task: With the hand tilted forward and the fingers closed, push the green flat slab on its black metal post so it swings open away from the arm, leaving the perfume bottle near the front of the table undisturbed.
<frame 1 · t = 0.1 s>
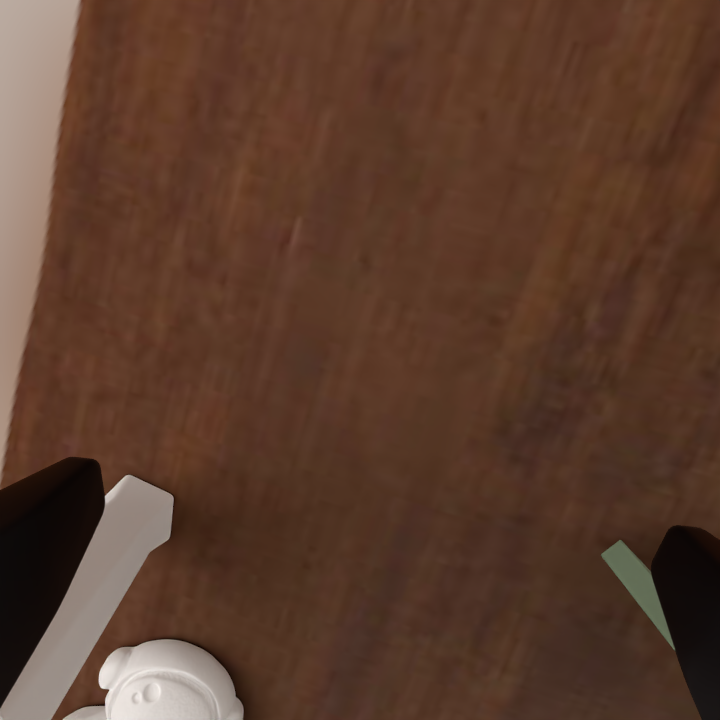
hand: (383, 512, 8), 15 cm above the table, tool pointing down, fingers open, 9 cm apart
perfume bottle: (138, 513, 25), on the table
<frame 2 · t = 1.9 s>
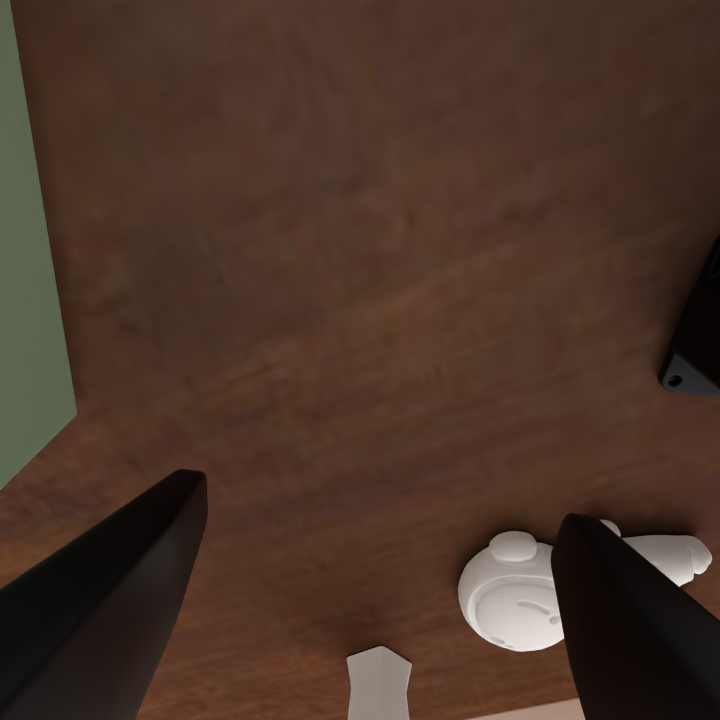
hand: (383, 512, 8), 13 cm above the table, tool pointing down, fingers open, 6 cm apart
astronaut figurine: (575, 576, 27), on the table
perfume bottle: (381, 663, 30), on the table
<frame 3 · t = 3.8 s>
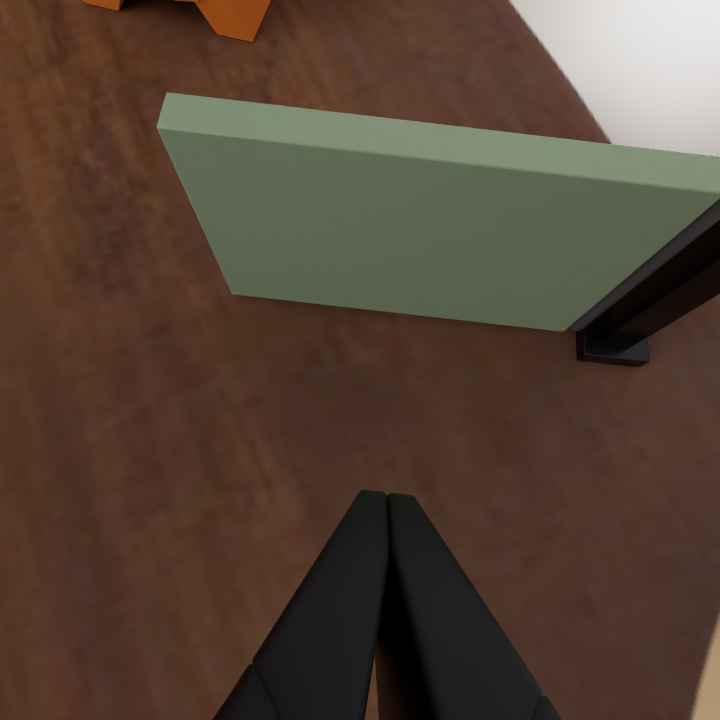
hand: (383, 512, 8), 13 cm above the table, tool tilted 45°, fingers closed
door post: (564, 329, 24), on the table
green flat slab: (431, 221, 18), point 6 cm above the table, hinge at 0.0°
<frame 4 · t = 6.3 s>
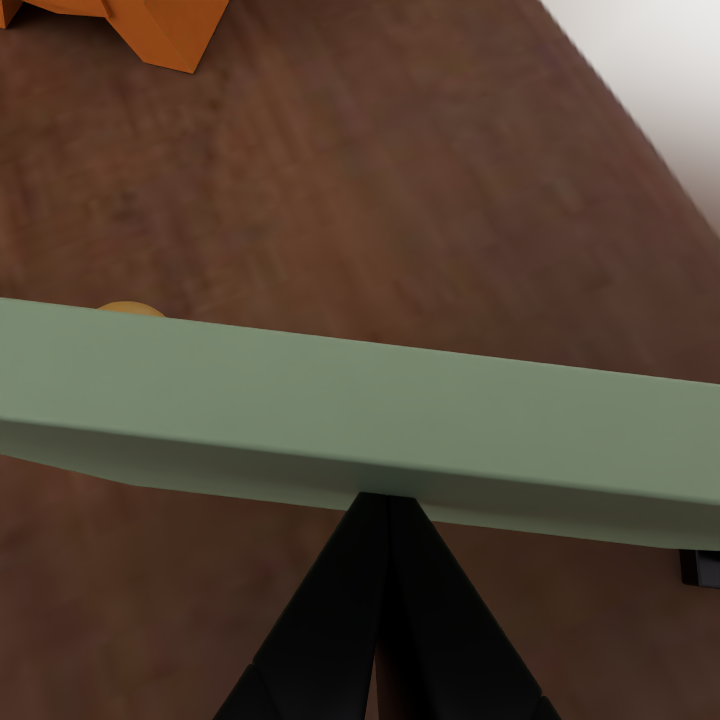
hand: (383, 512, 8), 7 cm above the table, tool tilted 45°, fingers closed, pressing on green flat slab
door post: (659, 528, 15), on the table
alarm clock: (105, 2, 21), on the table
green flat slab: (462, 429, 10), point 6 cm above the table, hinge at 0.4°, touching gripper
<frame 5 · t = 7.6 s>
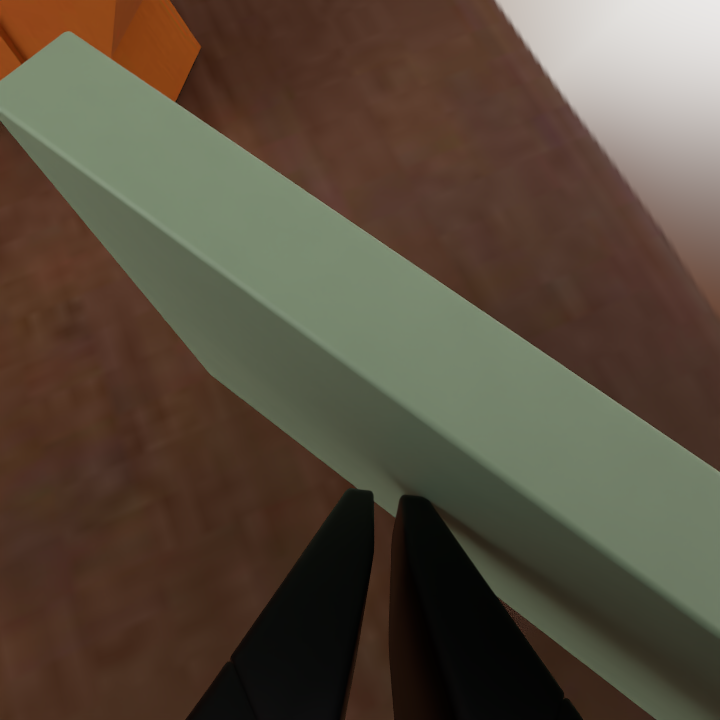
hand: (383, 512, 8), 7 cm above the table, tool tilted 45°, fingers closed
alarm clock: (53, 69, 19), on the table
green flat slab: (539, 490, 9), point 6 cm above the table, hinge at 31.1°, touching gripper
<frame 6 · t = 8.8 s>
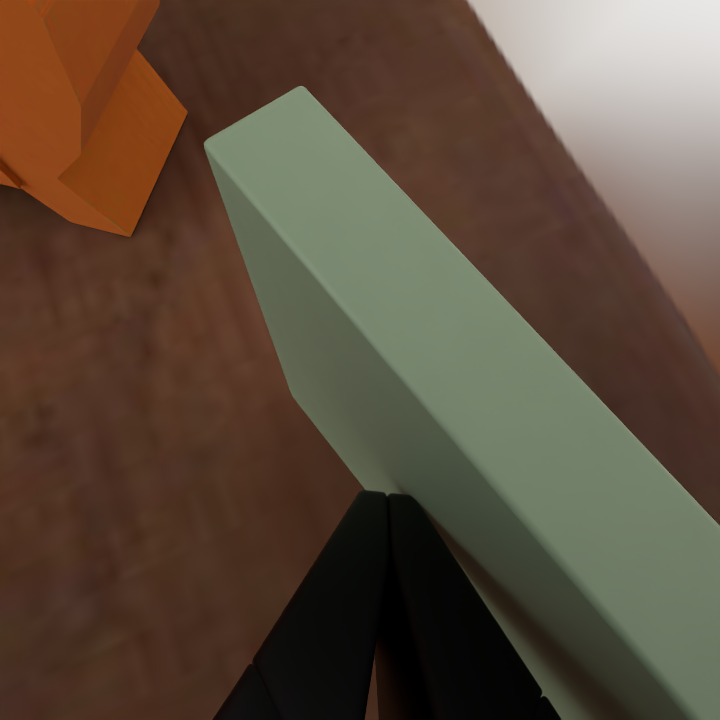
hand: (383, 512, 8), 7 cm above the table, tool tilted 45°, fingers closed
alarm clock: (29, 137, 18), on the table
green flat slab: (637, 641, 8), point 6 cm above the table, hinge at 45.1°, touching gripper
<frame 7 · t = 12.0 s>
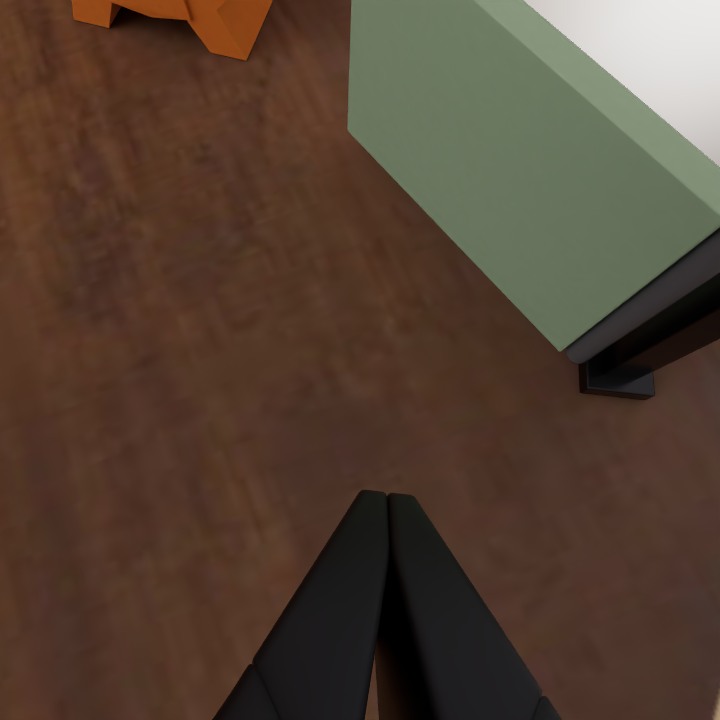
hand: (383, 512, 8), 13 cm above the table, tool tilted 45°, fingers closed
door post: (567, 360, 23), on the table
alarm clock: (179, 7, 29), on the table
green flat slab: (511, 149, 19), point 6 cm above the table, hinge at 45.2°
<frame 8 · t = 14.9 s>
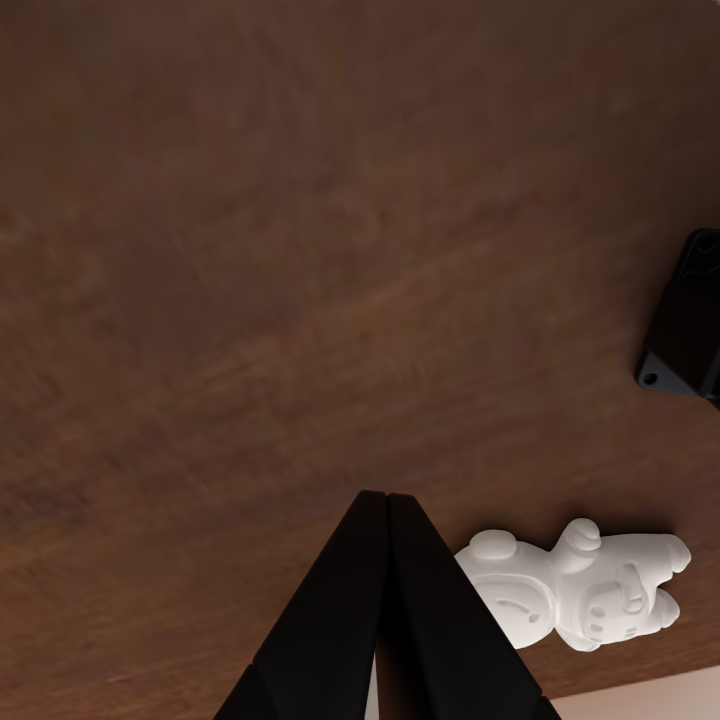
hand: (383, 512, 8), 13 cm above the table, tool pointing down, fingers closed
astronaut figurine: (556, 575, 27), on the table
perfume bottle: (365, 663, 30), on the table
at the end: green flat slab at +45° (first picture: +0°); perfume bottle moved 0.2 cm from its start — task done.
